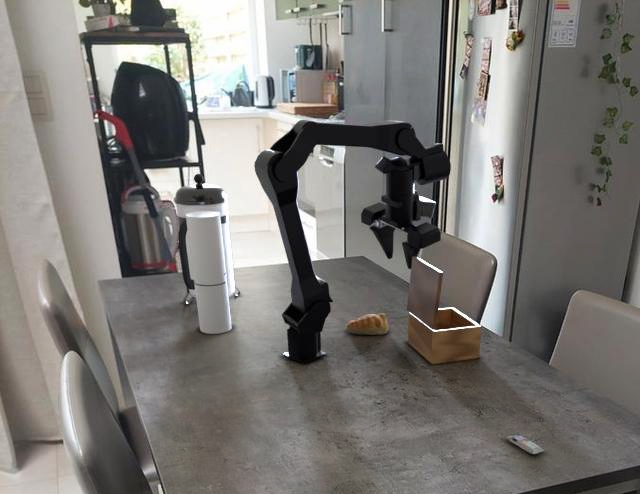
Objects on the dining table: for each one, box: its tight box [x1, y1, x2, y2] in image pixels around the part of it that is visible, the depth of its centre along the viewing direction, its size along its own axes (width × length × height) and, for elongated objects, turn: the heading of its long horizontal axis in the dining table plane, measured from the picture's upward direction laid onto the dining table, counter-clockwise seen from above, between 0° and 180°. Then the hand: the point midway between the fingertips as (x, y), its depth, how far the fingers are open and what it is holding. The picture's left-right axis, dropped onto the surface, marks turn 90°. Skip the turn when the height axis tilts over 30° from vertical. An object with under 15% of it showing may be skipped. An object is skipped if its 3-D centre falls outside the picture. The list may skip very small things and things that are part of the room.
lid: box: [406, 256, 444, 330], centre depth 140 cm, size 11×14×1 cm
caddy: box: [407, 306, 483, 365], centre depth 146 cm, size 11×14×7 cm
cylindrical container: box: [186, 211, 232, 335], centre depth 154 cm, size 7×7×25 cm
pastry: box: [345, 312, 389, 336], centre depth 158 cm, size 9×7×4 cm
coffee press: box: [173, 173, 241, 305], centre depth 171 cm, size 17×16×30 cm
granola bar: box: [506, 433, 545, 455], centre depth 111 cm, size 7×2×1 cm, turn 31°
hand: (400, 263), depth 149 cm, fingers open, 6 cm apart
